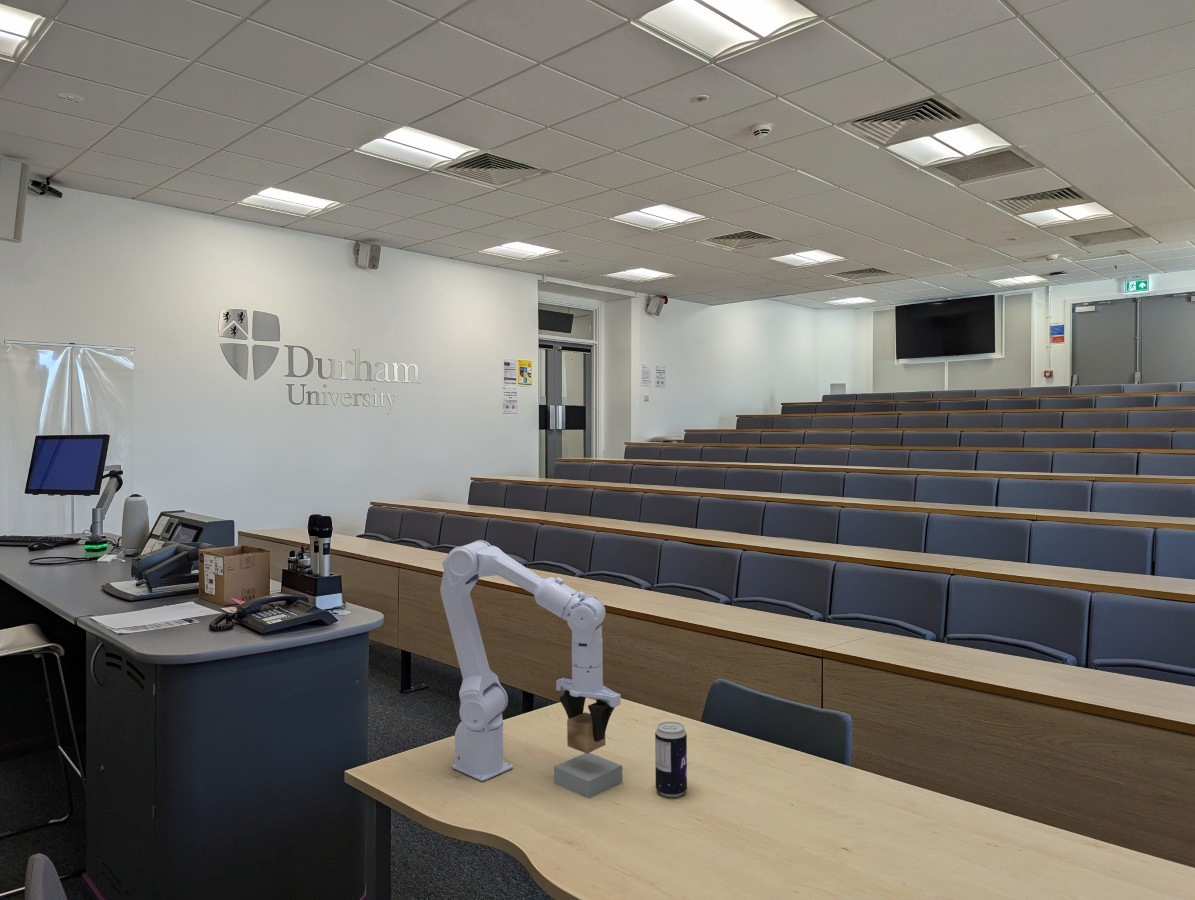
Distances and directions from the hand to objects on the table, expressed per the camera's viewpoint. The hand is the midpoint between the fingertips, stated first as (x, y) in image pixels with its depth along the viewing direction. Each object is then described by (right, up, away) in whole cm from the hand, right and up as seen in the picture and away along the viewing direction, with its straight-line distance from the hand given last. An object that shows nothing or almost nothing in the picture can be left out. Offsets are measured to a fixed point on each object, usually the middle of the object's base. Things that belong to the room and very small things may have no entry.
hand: (587, 735), depth 146 cm
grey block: (0, -9, 0) cm, 9 cm away
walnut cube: (0, -2, 0) cm, 2 cm away
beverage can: (+15, -9, -4) cm, 18 cm away
